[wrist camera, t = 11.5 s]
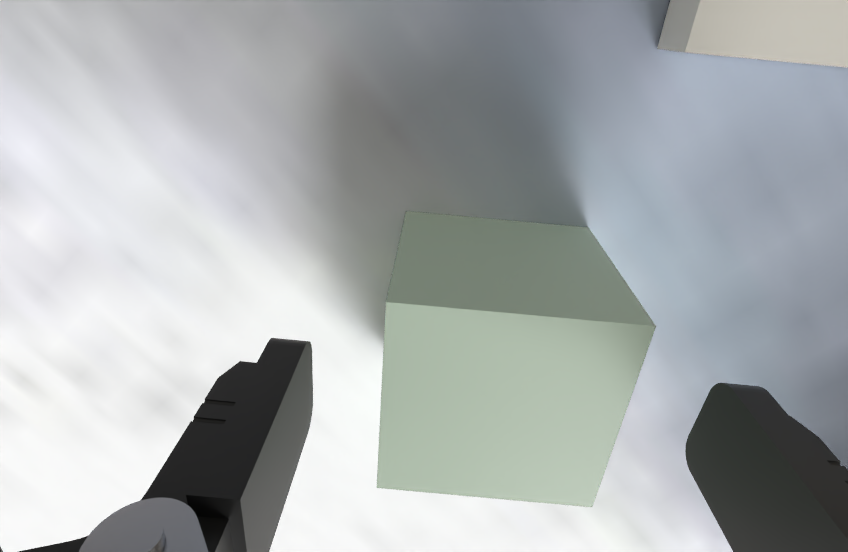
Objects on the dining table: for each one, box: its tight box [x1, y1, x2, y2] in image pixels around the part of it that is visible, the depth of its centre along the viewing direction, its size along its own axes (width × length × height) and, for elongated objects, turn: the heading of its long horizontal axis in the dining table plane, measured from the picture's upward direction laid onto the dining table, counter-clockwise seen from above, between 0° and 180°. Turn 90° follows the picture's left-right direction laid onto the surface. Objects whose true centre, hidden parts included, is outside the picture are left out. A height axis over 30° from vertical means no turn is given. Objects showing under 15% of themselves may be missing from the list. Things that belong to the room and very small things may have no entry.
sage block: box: [377, 211, 656, 507], centre depth 12 cm, size 5×5×5 cm
